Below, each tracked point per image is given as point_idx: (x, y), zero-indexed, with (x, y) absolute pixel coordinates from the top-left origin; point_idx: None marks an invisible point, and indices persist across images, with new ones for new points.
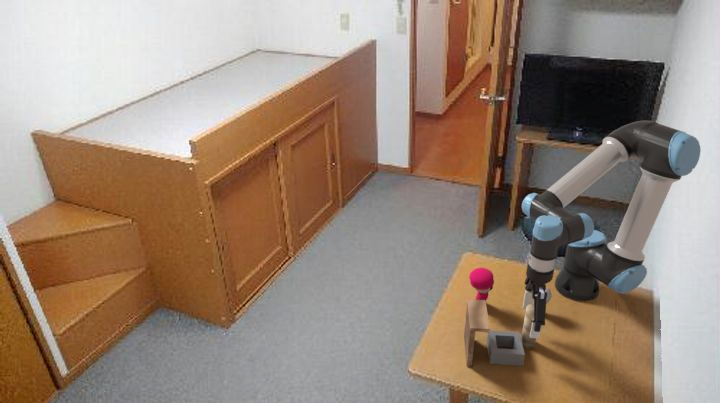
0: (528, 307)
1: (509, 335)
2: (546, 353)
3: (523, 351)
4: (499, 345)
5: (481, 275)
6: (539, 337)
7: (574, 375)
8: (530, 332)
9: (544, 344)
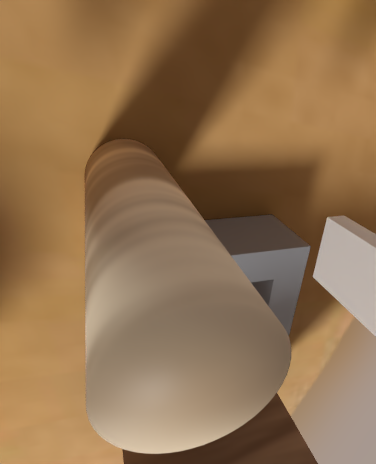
0: (168, 435)
1: None
2: (197, 84)
3: (289, 250)
4: None
5: None
6: (349, 219)
7: None
8: (340, 299)
9: (122, 79)
